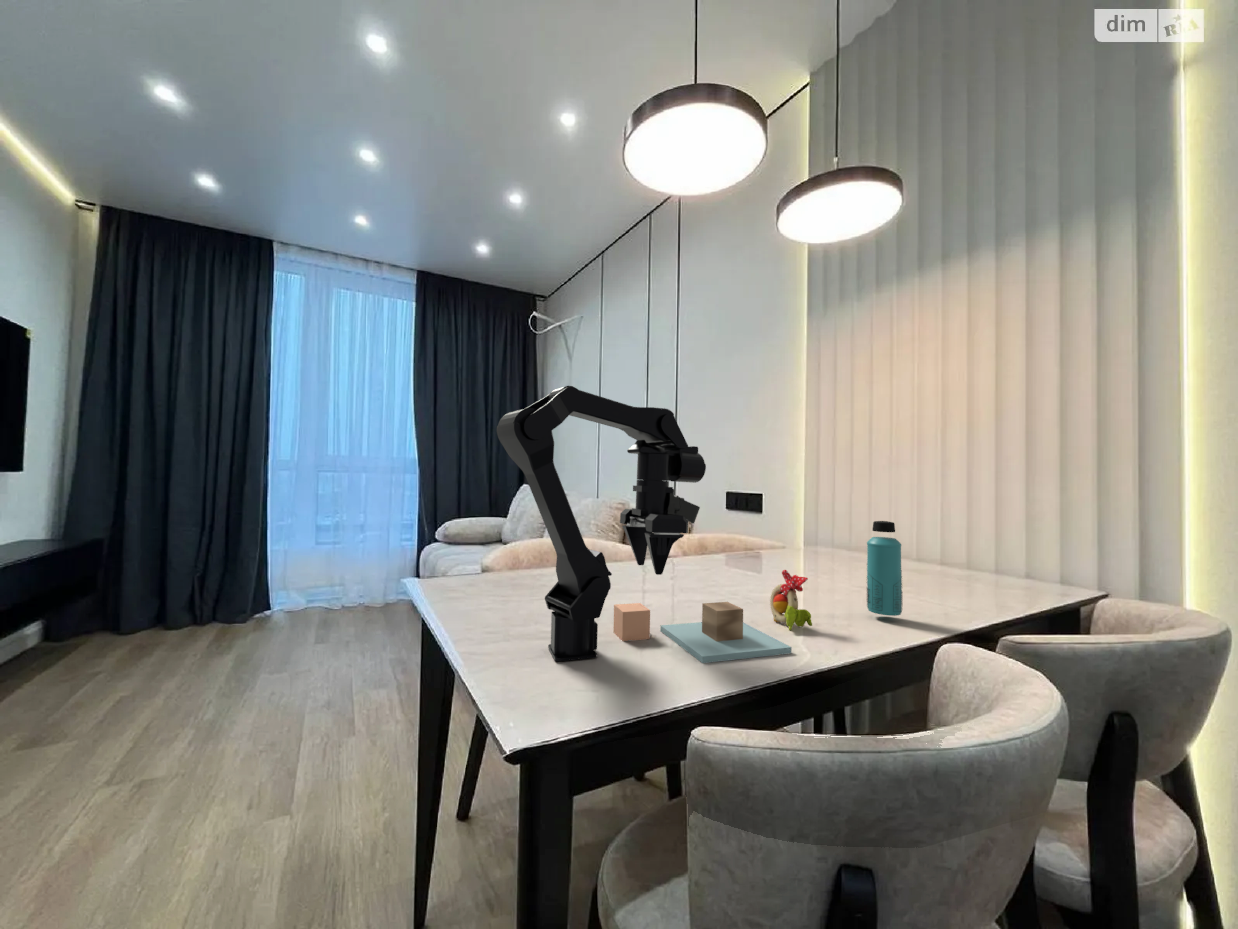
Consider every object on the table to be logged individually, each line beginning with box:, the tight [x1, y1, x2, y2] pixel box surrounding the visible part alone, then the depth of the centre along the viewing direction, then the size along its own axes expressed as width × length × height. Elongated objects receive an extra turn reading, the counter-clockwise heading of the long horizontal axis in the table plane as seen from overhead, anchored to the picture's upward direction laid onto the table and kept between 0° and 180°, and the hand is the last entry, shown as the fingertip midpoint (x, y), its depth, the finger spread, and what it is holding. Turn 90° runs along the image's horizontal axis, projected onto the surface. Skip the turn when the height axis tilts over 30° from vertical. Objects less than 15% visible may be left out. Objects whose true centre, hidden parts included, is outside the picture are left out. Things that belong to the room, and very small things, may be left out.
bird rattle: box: [769, 569, 813, 631], centre depth 94 cm, size 6×11×9 cm
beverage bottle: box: [865, 520, 904, 617], centre depth 100 cm, size 6×7×20 cm
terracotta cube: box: [612, 602, 651, 642], centre depth 85 cm, size 5×5×5 cm
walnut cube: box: [701, 601, 744, 642], centre depth 83 cm, size 5×5×5 cm
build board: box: [659, 621, 792, 664], centre depth 83 cm, size 16×16×1 cm
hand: (649, 569), depth 85 cm, fingers open, 9 cm apart
